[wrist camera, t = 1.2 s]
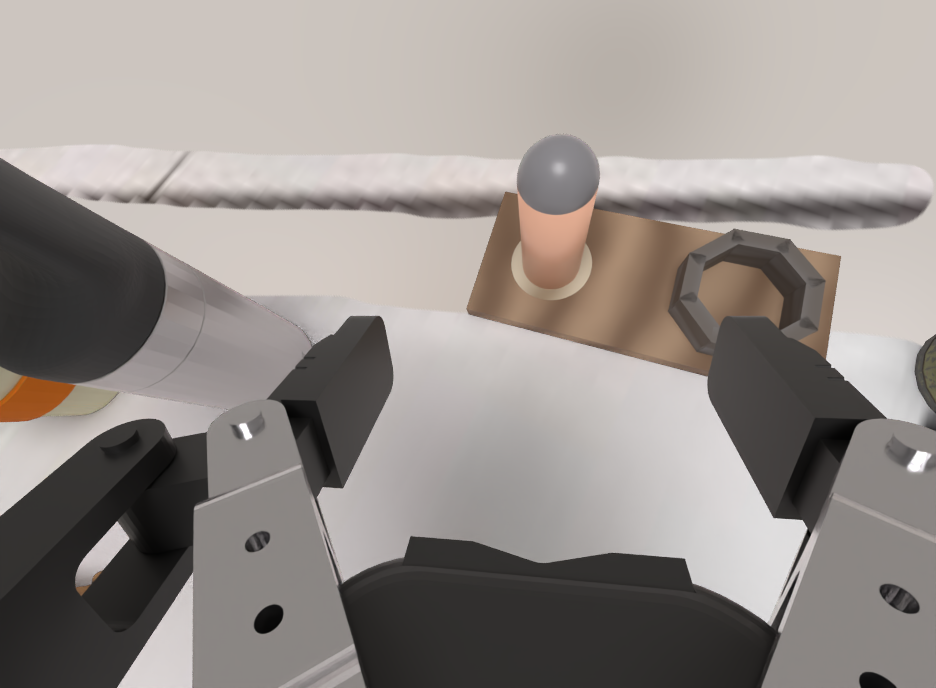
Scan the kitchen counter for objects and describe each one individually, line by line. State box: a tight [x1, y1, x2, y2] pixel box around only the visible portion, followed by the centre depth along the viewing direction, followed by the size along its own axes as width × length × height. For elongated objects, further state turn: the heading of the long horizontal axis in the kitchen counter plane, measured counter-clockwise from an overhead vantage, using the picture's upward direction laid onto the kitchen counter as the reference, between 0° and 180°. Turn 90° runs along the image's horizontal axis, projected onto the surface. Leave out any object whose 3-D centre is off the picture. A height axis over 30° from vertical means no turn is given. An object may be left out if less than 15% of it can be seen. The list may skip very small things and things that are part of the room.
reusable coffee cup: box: [0, 367, 118, 422], centre depth 37 cm, size 13×12×15 cm
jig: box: [467, 192, 841, 376], centre depth 36 cm, size 28×12×4 cm, turn 73°
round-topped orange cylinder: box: [517, 134, 600, 289], centre depth 31 cm, size 5×5×14 cm
